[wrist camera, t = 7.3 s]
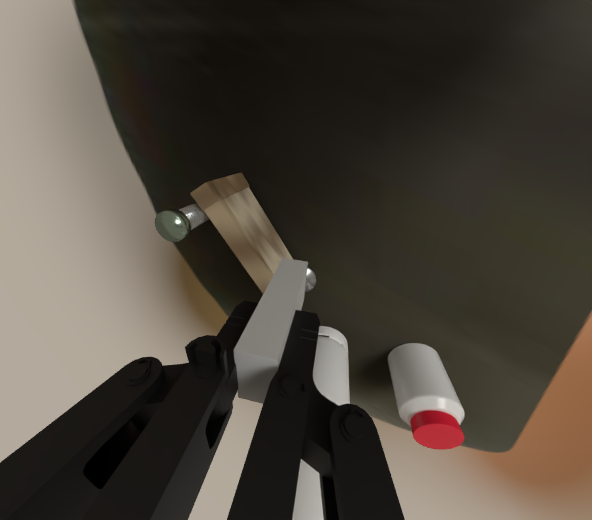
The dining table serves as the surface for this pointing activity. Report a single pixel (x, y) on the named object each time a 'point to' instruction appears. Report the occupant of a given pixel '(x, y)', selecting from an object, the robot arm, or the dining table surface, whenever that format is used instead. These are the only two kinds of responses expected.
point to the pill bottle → (426, 396)
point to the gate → (243, 226)
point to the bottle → (335, 387)
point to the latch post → (179, 222)
